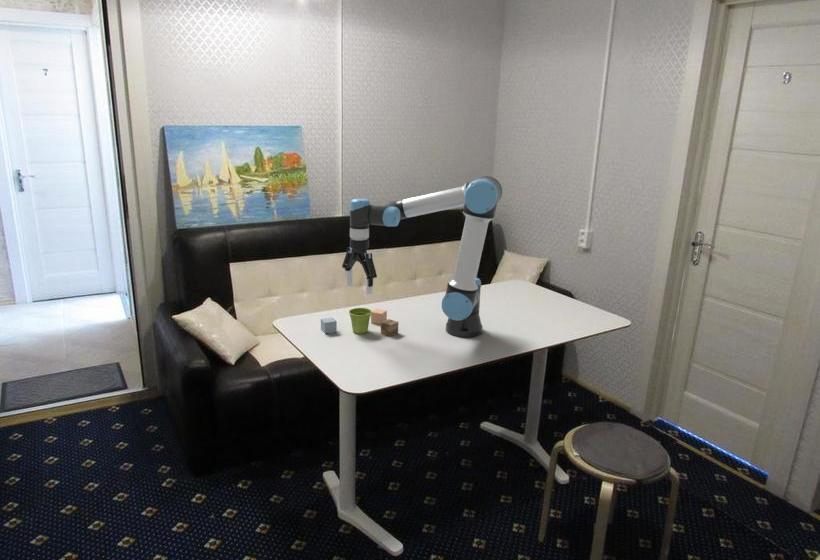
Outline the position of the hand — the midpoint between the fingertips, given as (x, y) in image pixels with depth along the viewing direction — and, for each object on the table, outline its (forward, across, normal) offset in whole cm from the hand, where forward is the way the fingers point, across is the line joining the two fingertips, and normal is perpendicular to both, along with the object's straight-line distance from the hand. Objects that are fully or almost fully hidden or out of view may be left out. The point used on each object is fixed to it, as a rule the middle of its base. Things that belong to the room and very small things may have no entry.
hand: (358, 289), depth 236 cm
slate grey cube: (+17, +6, +11) cm, 21 cm away
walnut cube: (+17, -11, -8) cm, 22 cm away
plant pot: (+17, -2, +1) cm, 17 cm away
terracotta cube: (+17, +2, -12) cm, 21 cm away
